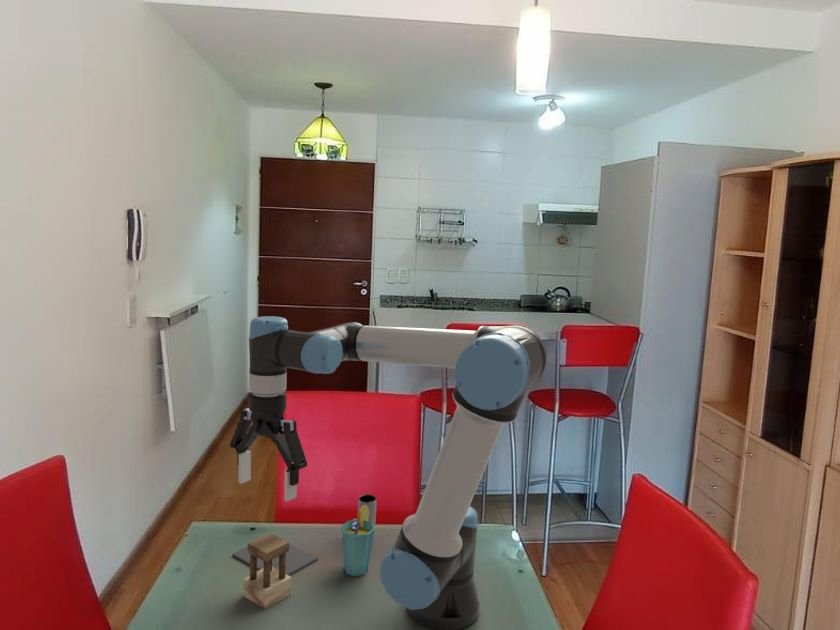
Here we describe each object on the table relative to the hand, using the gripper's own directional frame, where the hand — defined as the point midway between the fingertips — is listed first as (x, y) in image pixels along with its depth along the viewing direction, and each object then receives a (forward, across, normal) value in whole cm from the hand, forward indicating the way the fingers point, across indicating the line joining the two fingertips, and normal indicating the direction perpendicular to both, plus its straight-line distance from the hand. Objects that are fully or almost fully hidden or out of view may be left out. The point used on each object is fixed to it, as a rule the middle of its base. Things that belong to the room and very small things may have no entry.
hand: (266, 490), depth 135 cm
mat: (+23, +8, -10) cm, 26 cm away
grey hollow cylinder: (+23, -2, -32) cm, 39 cm away
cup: (+23, -11, -17) cm, 31 cm away
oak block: (+23, -2, +1) cm, 23 cm away
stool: (+19, -2, +1) cm, 19 cm away
